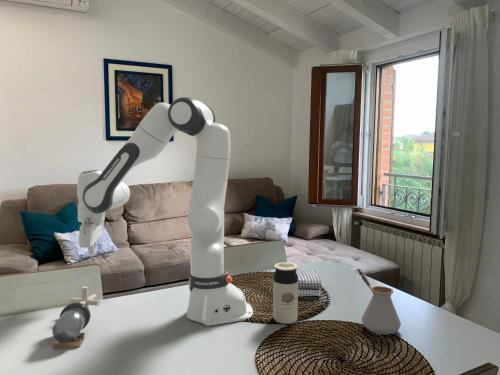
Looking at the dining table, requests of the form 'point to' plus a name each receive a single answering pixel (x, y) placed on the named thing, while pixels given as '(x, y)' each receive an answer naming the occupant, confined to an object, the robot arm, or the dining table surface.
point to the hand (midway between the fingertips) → (92, 253)
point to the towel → (308, 283)
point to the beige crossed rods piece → (86, 298)
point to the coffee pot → (380, 310)
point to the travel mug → (285, 293)
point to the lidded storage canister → (71, 326)
